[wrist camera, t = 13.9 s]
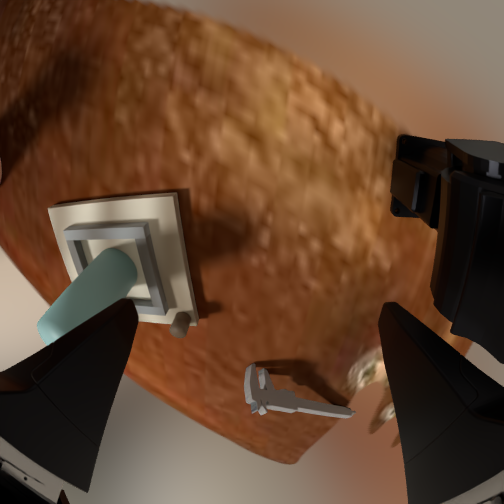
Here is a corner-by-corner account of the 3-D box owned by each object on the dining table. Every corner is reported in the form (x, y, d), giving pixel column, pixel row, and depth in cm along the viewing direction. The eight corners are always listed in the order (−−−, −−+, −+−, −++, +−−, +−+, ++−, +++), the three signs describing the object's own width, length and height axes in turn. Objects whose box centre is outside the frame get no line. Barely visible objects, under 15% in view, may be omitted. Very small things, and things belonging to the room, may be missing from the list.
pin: (130, 247, 23) (67, 323, 14) (142, 289, 25) (94, 369, 16) (92, 248, 23) (28, 315, 14) (105, 287, 25) (54, 358, 16)
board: (177, 192, 21) (163, 205, 18) (199, 319, 27) (192, 340, 25) (53, 205, 22) (35, 216, 20) (89, 308, 28) (77, 324, 26)
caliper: (246, 363, 31) (240, 409, 25) (252, 359, 30) (247, 406, 25) (350, 412, 36) (355, 446, 30) (356, 409, 35) (361, 444, 30)
